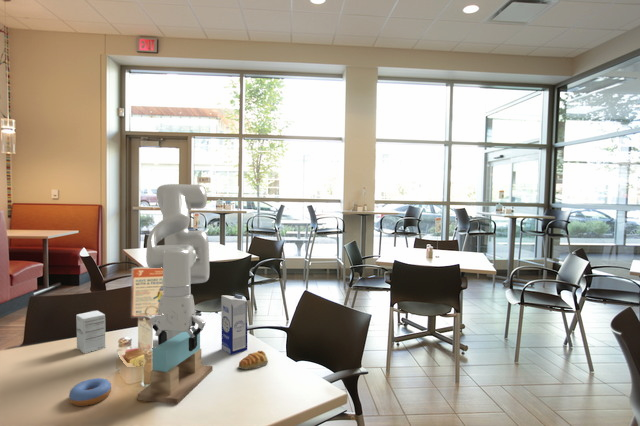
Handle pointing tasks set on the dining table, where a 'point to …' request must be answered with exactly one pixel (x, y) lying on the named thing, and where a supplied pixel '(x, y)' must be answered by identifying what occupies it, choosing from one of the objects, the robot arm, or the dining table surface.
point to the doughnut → (90, 392)
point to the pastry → (253, 360)
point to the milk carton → (234, 323)
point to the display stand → (176, 381)
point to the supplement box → (90, 331)
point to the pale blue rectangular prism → (173, 352)
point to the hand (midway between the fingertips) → (177, 348)
